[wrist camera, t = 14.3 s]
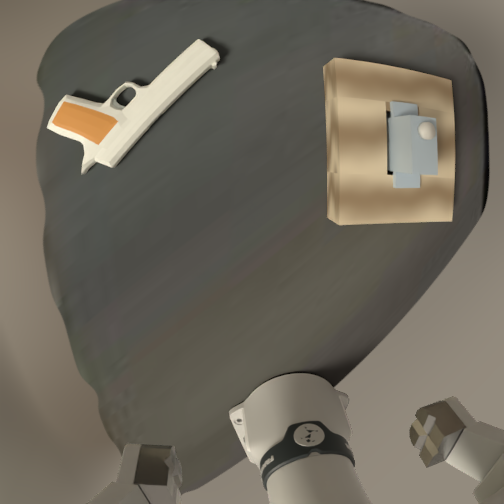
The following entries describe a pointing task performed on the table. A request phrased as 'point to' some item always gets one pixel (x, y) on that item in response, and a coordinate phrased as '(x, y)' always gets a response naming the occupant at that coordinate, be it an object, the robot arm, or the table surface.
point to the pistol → (128, 109)
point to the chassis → (383, 144)
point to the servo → (410, 145)
